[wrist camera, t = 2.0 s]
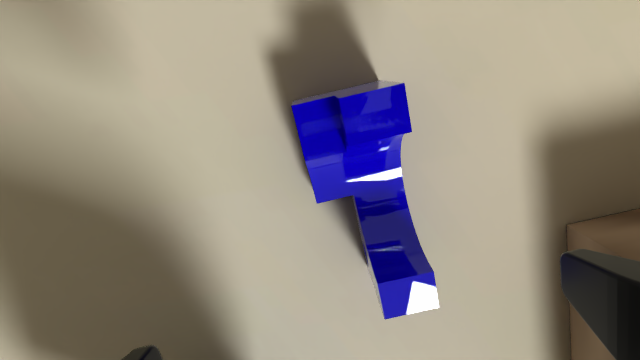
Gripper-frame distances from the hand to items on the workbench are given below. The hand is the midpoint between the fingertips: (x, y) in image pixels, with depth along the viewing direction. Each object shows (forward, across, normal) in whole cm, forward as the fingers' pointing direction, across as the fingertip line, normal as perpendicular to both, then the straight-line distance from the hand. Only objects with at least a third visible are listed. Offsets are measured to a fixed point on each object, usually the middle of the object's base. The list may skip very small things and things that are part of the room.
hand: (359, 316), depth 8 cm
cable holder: (+8, -1, 0) cm, 9 cm away
